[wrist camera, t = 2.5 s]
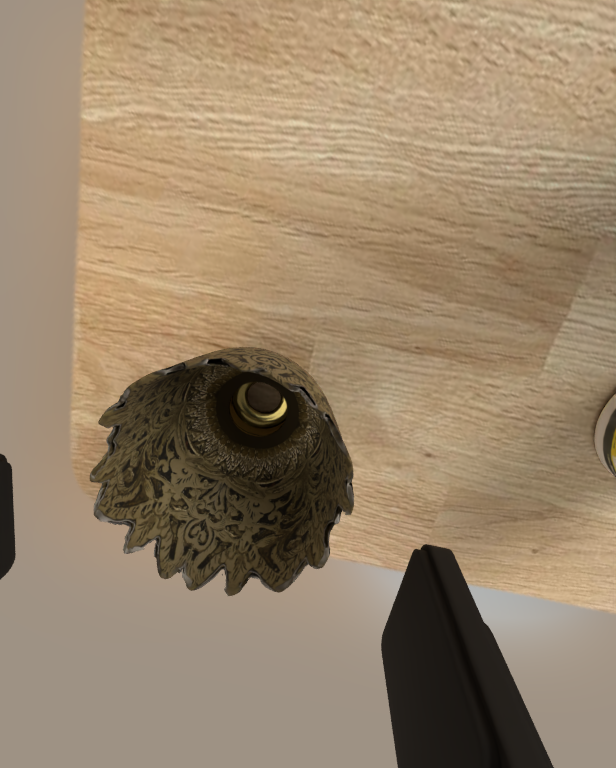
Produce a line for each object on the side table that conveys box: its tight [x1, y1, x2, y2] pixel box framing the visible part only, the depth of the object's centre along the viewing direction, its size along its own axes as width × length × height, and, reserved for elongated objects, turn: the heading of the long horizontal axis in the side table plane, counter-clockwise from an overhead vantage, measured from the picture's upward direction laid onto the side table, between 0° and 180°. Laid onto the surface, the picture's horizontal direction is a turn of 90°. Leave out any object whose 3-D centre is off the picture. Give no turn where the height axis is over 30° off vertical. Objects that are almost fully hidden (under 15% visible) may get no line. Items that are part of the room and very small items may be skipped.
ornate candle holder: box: [90, 347, 354, 596], centre depth 14 cm, size 8×7×8 cm
